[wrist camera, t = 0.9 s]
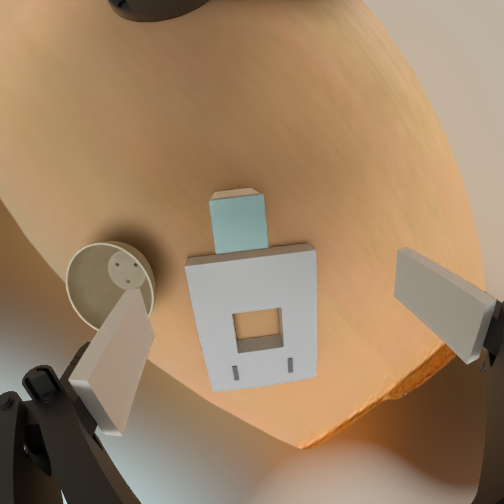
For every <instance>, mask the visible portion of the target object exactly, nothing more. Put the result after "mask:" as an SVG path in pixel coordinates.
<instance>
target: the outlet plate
mask: <svg viewBox="0 0 504 504" xmlns="http://www.w3.org/2000/svg"><path fill="white" fill-rule="evenodd" d="M185 272H186V277H187V282H188V288H189V293H190V297H191V302H192V307H193V312H194V317H195V321H196V326H197V330H198V334H199V339H200V343H201V347H202V351H203V356H204V360H205V364H206V368H207V372H208V376H209V379H210V383H211V387H212V391H213V392H218V391H229V390H238V389H247V388H255V387H262V386H269V385H275V384H281V383H287V382H293V381H298V380H304V379H309V378H314V377H316V362H317V263H316V249H315V248H313V247H312V246H311V245H310V244H309V243H303V244H295V245H287V246H279V247H271V248H263V249H255V250H247V251H239V252H230V253H222V254H214V255H206V256H198V257H190V258H188V259H187V261H186V264H185ZM273 308H278V318H279V332H280V334H277V335H270V336H263V337H256V338H249V339H241V340H237V337H236V331H235V325H234V318H233V314H236V313H244V312H251V311H259V310H266V309H273Z"/></svg>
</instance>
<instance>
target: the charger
mask: <svg viewBox="0 0 504 504" xmlns="http://www.w3.org/2000/svg"><path fill="white" fill-rule="evenodd" d="M209 207H210V215H211V223H212V230H213V237H214V245H215V252H216V254H219V253H227V252H236V251H244V250H252V249H260V248H268V236H267V225H266V214H265V204H264V195H263V194H262V193H259V192H257V191H256V190H254V189H253V188H243V189H234V190H226V191H218V192H214V194H213V196H212V198H211V199H210V200H209Z"/></svg>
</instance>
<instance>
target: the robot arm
mask: <svg viewBox="0 0 504 504" xmlns="http://www.w3.org/2000/svg"><path fill="white" fill-rule="evenodd" d="M207 1H208V0H108V2H109V4H110V5H111V7H112V8H113V9H114V11H115V12H116V13H117V14H119V15H120V16H122V17H124V18H126V19H129V20H133V21H140V22H152V21H160V20H166V19H170V18H174V17H177V16H180V15H183V14H185V13H188V12H190V11H192V10H194V9H196V8H198V7H199V6H201V5H203V4H204V3H205V2H207ZM394 297H395V298H396V299H398V300H399V301H400V302H401V303H402V304H403V305H404V306H405V307H407V308H408V309H409V310H410V311H411V312H412V313H413V314H414V315H415V316H417V317H418V318H419V319H420V320H421V321H422V322H423V323H424V324H425V325H426V326H427V327H429V328H430V329H431V330H432V331H433V332H434V333H435V334H436V335H437V336H438V337H439V338H440V339H441V340H442V341H443V342H444V343H446V344H447V345H448V346H449V347H450V348H451V349H452V350H453V351H454V352H455V353H456V354H457V355H458V356H459V357H460V358H461V359H462V360H463V361H464V362H465V363H466V364H469V363H470V362H472V361H474V360H476V359H478V358H479V355H480V353H481V350H482V347H483V346H484V347H485V348H486V349H487V352H486V355H485V357H484V360H483V362H482V365H481V367H480V371H479V372H481V371H482V369H483V368H484V367H485V366H486V369H485V372H486V386H487V415H486V434H485V447H484V455H483V463H482V469H481V476H480V481H479V487H478V491H477V494H476V497H475V499H474V500H473V502H472V503H471V504H504V301H503V303H501V302H500V301H498V300H497V299H495V298H494V297H492V296H490V295H489V294H487V293H486V292H484V291H482V290H481V289H479V288H477V287H476V286H475V285H473V284H471V283H470V282H468V281H466V280H464V279H463V278H461V277H459V276H458V275H456V274H454V273H453V272H451V271H449V270H448V269H446V268H444V267H442V266H441V265H439V264H437V263H435V262H434V261H432V260H430V259H428V258H427V257H425V256H423V255H421V254H419V253H418V252H416V251H414V250H412V249H410V248H403V249H397V264H396V278H395V290H394ZM154 336H155V335H154V332H153V329H152V326H151V323H150V320H149V317H148V314H147V311H146V307H145V304H144V301H143V297H142V294H141V291H140V288H139V289H131V290H126V291H125V292H124V294H123V295H122V296H121V298H120V299H119V301H118V302H117V304H116V305H115V307H114V308H113V310H112V311H111V312H110V314H109V315H108V317H107V318H106V320H105V321H104V323H103V324H102V326H101V327H100V329H99V330H98V332H97V334H96V335H95V337H94V338H93V340H92V341H91V342H87V343H86V344H85V345H83V346H82V347H81V348H80V349H79V350H78V352H77V353H76V355H75V356H74V358H73V360H72V361H71V362H70V365H69V366H68V367H67V369H66V370H65V372H64V374H63V375H62V377H61V378H60V380H59V379H58V377H57V375H56V374H55V372H54V370H53V369H52V367H51V366H48V365H40V366H37V367H35V368H33V369H31V370H30V371H28V373H27V374H25V376H24V378H23V380H22V385H23V386H24V388H25V389H26V391H27V392H28V394H29V395H30V397H31V398H32V400H30V401H22V399H21V398H20V397H19V395H18V394H17V393H16V392H14V391H8V392H6V393H3V394H2V395H0V504H63V498H62V493H61V490H62V492H63V494H64V497H65V499H66V501H67V504H141V502H140V501H139V500H138V498H137V497H136V496H135V494H134V493H133V492H132V490H131V489H130V487H129V486H128V485H127V483H126V482H125V480H124V479H123V477H122V476H121V474H120V473H119V471H118V470H117V468H116V467H115V465H114V463H113V462H112V460H111V459H110V457H109V455H108V454H107V452H106V450H105V449H104V447H103V445H102V443H101V442H100V440H99V438H98V436H97V435H96V434H95V433H94V432H95V430H96V427H97V425H98V426H99V427H100V429H101V430H102V432H103V433H104V434H105V435H114V436H123V433H124V429H125V426H126V422H127V419H128V416H129V412H130V409H131V406H132V403H133V399H134V396H135V393H136V390H137V387H138V383H139V380H140V377H141V374H142V371H143V368H144V365H145V362H146V359H147V356H148V353H149V351H150V348H151V345H152V342H153V339H154ZM24 447H25V450H24Z"/></svg>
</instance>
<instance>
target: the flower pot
mask: <svg viewBox="0 0 504 504" xmlns="http://www.w3.org/2000/svg"><path fill="white" fill-rule="evenodd" d="M135 263H136V265H134V264H135ZM116 264H117V265H118V266H117V265H116ZM128 280H129V281H128ZM139 288H140V291H141V294H142V297H143V301H144V304H145V307H146V311H147V314H148V317H149V318H150V316H151V313H152V310H153V307H154V302H155V279H154V275H153V271H152V269H151V266H150V264H149V262H148V261H147V259H146V258H145V257H144V255H143V254H142V253H141V252H140V251H138V250H137V249H136V248H134V247H132V246H130V245H128V244H126V243H122V242H117V241H101V242H96V243H92V244H89V245H86V246H84V247H83V248H81V249H80V250H78V251H77V252H76V253H75V255H74V256H73V257H72V259H71V260H70V262H69V265H68V268H67V271H66V289H67V293H68V296H69V300H70V302H71V304H72V306H73V308H74V309H75V311H76V312H77V313H78V315H79V316H80V317H81V318H82V319H83V321H85V322H86V323H87V324H88V325H89V326H91V327H92V328H94V329H95V330H97V331H98V330H99V329H100V327H101V326H102V324H103V323H104V321H105V320H106V318H107V317H108V315H109V314H110V312H111V311H112V310H113V308H114V307H115V305H116V304H117V302H118V301H119V299H120V298H121V296H122V295H123V294H124V292H125V291H126V290H131V289H139Z"/></svg>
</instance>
